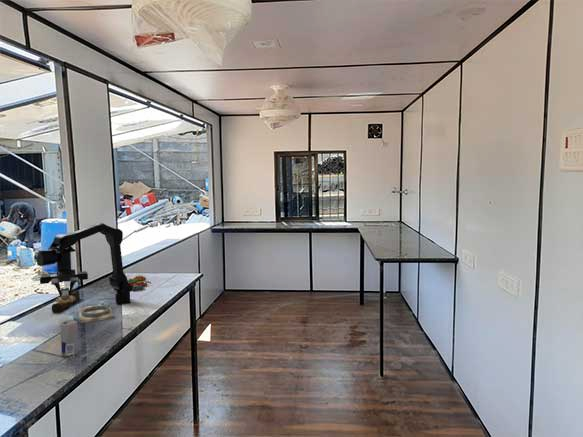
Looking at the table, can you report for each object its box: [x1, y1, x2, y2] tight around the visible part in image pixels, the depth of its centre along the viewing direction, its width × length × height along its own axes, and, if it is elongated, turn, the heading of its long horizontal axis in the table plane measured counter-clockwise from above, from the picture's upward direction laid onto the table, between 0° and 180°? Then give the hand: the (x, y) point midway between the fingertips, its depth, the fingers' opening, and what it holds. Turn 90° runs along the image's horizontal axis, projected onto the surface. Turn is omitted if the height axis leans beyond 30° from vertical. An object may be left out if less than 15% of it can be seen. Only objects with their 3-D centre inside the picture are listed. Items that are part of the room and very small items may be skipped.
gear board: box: [77, 301, 115, 324], centre depth 185 cm, size 14×20×3 cm
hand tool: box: [51, 290, 81, 314], centre depth 197 cm, size 23×5×6 cm, turn 1°
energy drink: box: [60, 319, 79, 357], centre depth 143 cm, size 5×5×12 cm
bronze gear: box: [55, 286, 75, 303], centre depth 178 cm, size 8×8×6 cm
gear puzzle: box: [114, 275, 152, 293], centre depth 239 cm, size 31×16×4 cm, turn 7°
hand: (65, 295), depth 178 cm, fingers closed on bronze gear, 3 cm apart
